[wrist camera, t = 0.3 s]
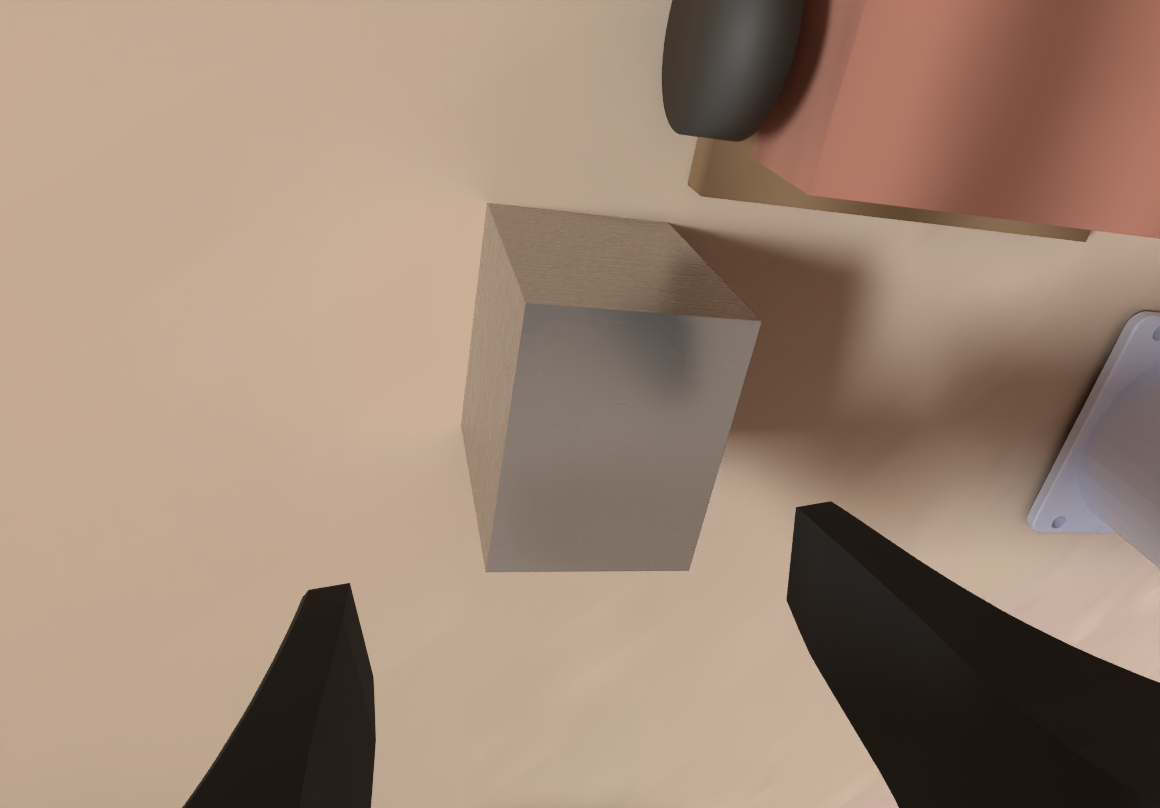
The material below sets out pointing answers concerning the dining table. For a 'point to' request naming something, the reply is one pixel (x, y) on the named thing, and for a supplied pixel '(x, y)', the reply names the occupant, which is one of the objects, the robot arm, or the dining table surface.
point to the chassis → (925, 109)
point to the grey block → (597, 391)
